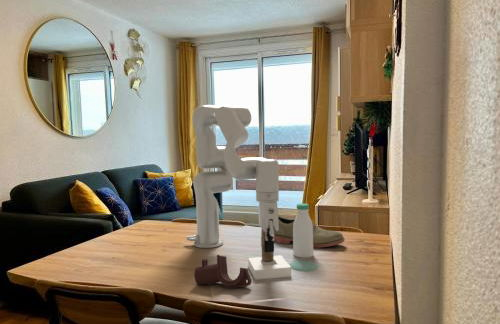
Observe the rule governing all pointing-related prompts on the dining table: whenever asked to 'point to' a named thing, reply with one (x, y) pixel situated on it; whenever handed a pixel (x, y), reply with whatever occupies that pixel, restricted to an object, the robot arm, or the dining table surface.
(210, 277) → the bracket
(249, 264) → the pocket block
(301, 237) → the milk bottle
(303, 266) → the felt pad
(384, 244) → the dining table surface
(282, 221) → the oxford shoe
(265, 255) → the walnut dowel
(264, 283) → the dining table surface
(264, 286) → the dining table surface
